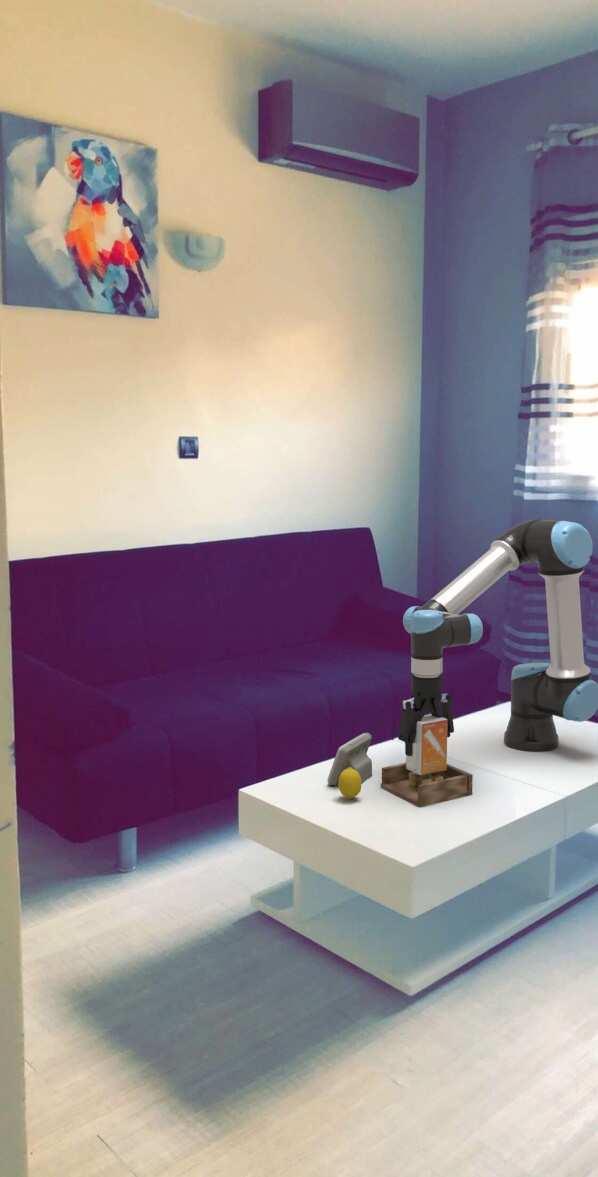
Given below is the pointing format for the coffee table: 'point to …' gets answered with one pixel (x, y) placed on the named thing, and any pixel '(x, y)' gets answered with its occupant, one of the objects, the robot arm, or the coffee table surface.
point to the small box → (431, 745)
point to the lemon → (349, 783)
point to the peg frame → (426, 784)
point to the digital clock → (352, 759)
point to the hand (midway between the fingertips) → (426, 764)
